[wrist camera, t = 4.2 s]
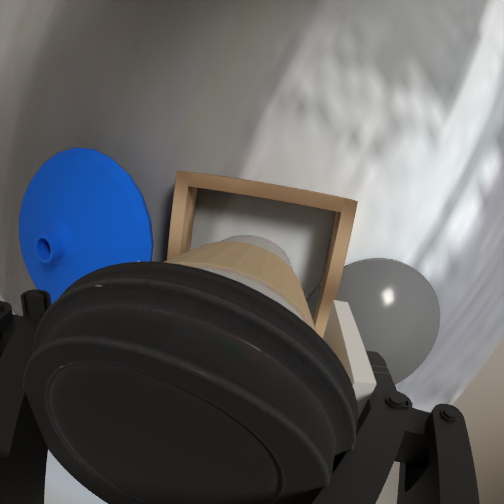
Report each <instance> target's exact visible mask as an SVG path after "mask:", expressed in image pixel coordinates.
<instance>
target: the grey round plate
mask: <svg viewBox="0 0 504 504" xmlns="http://www.w3.org/2000/svg"><path fill="white" fill-rule="evenodd" d="M320 290H321V283H320V284H319V285H318V287H317V288H316V289H315V290H314V291H313V293H312V294H311V296H310V297H309V299H308V300H307V305H308V308H309V311H310V314H311V317H312V320H313V318H314V314H315V311H316V307H317V303H318V299H319V295H320ZM336 300H337V301H343V302H348V304H349V307H350V309H351V312H352V315H353V317H354V320H355V323H356V325H357V328H358V331H359V334H360V337H361V339H362V342H363V345H364V348H365V351H373V352H378V353H379V354H380V355H381V356H382V357H383V358H384V360H385V362H386V365H387V368H388V370H389V372H390V373H389V374H390V375H391V377H392V380H393V382H394V385H395V384H397V383H399V382H401V381H402V380H404V379H405V378H407V377H408V376H409V375H410V374H412V373H413V372H414V371H415V370H416V369H417V368H418V367H419V366H420V365H421V364H422V363H423V361H424V360H425V359H426V357H427V356H428V354H429V353H430V351H431V349H432V347H433V345H434V343H435V340H436V338H437V335H438V330H439V325H440V308H439V303H438V299H437V296H436V294H435V291H434V290H433V288H432V286H431V285H430V283H429V282H428V281H427V279H426V278H425V277H424V276H422V275H421V274H420V273H419V272H418V271H417V270H415V269H414V268H412V267H411V266H409V265H407V264H405V263H402V262H400V261H396V260H393V259H385V258H372V259H365V260H361V261H357V262H353V263H351V264H349V265H346V266H344V268H343V272H342V276H341V280H340V284H339V288H338V292H337V296H336Z"/></svg>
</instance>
